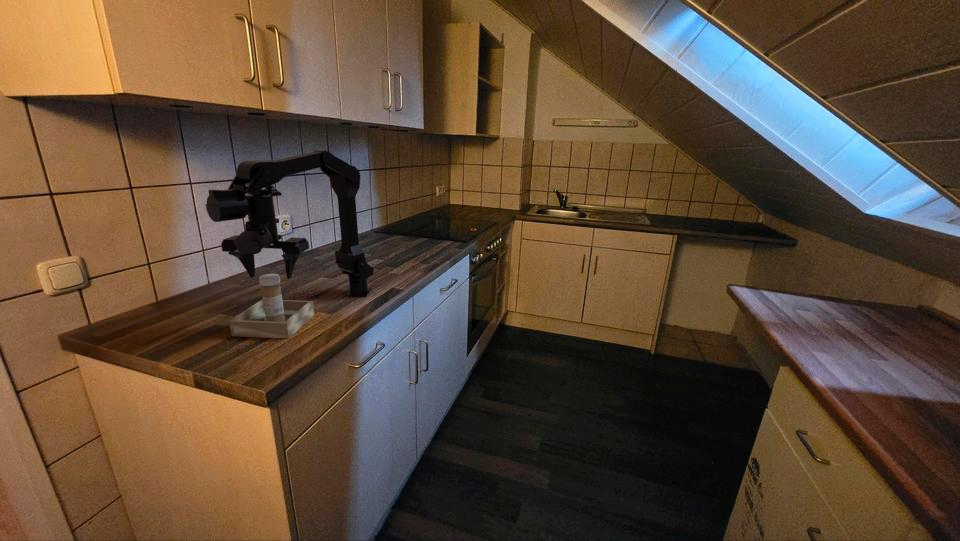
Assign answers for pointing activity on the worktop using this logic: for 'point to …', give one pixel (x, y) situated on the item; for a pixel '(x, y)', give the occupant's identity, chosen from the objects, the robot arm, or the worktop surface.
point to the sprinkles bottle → (272, 297)
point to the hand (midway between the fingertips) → (271, 277)
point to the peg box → (257, 326)
